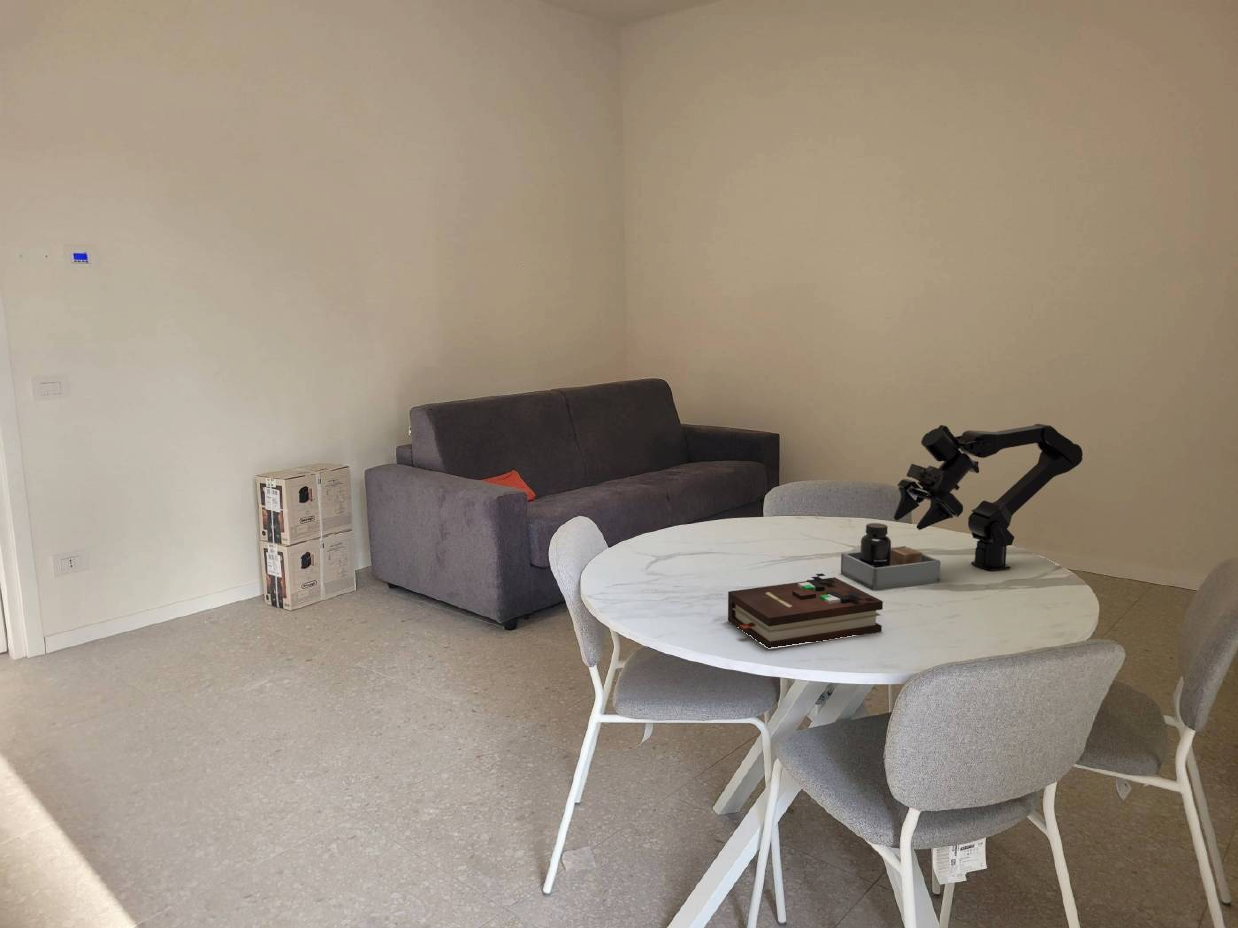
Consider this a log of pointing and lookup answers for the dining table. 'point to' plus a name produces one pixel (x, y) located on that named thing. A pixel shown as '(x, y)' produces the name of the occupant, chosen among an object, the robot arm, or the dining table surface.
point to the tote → (890, 572)
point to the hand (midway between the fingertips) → (906, 523)
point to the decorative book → (804, 611)
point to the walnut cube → (905, 556)
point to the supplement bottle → (876, 546)
